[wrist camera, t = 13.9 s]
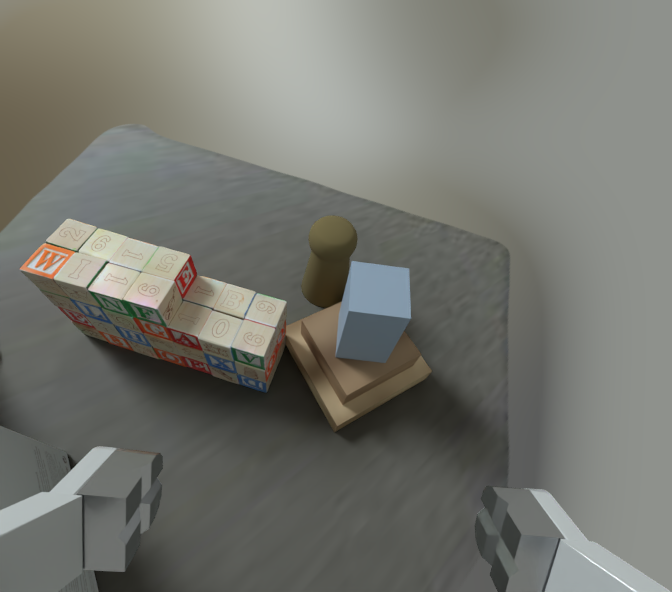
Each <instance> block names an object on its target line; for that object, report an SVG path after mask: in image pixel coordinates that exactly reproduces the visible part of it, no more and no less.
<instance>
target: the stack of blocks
mask: <svg viewBox="0 0 672 592" xmlns="http://www.w3.org/2000/svg"><path fill="white" fill-rule="evenodd" d="M20 271H21V272H22V273H23V274H24V275H25V276H26V277H27V278H29V279H30V280H31V281H32V282H33V283H34V284H35V285H36V286H37V287H38V288H39V289H40V291H41V292H42V293H43V294H44V295H45V296H46V297H47V298H48V299H49V300H50V301H51V302H52V303H53V304H54V305H55V306H58V308H59V309H60V310H61V311H62V312H63V313H64V314H65V315H66V316H67V317H68V318H69V319H71V320H72V323H73V324H74V325H75V326H76V327H77V328H78V329H79V330H81V331H82V332H83V333H84V334H85V335H88V336H91V337H95V338H98V339H101V340H104V341H107V342H109V343H110V344H113V345H116V346H119V347H123V348H126V349H129V350H132V351H135V352H138V353H141V354H143V355H147V356H150V357H153V358H156V359H163V360H165V361H169V362H172V363H175V364H178V365H181V366H184V367H189V368H193V369H195V370H199V371H202V372H205V373H208V374H211V375H213V376H214V377H217V378H220V379H223V380H226V381H229V382H232V383H235V384H241V385H243V386H246V387H249V388H252V389H255V390H258V391H262V392H265V393H267V391H268V388H269V386H270V383H271V381H272V378H273V376H274V373H275V371H276V368H277V366H278V364H279V361H280V359H281V356H282V354H283V351H284V348H285V345H286V316H287V315H286V314H287V302H286V301H284V300H280V299H277V298H273V297H270V296H267V295H263V294H257V293H256V292H254V291H251V290H248V289H245V288H241V287H238V286H234V285H231V284H226V283H224V282H221V281H218V280H214V279H211V278H207V277H203V276H197V272H196V269H195V267H194V264H193V261H192V258H191V256H190V255H188V254H185V253H182V252H178V251H174V250H171V249H168V248H164V247H158V246H155V245H152V244H149V243H145V242H141V241H138V240H135V239H131V238H128V237H126V236H123V235H120V234H116V233H113V232H110V231H106V230H103V229H98V228H97V227H95V226H91V225H88V224H85V223H82V222H78V221H75V220H72V219H67V220H66V221H65V222H64V223H63V224H62V225H61V226H60V227H59V228H58V229H57V230H56V231H55V232H54V233H53V234H52V235H51V236H50V237H49V238H48V239H47V240H46V243H44V244H43V245H42V246H40V247H39V248H38V250H37V251H36V252H35V253H34V254H33V255H32V256H31V257H30V258H29V259H28V260H27V261H26V262H25V263H24V265H23V266H22V267H21V268H20Z"/></svg>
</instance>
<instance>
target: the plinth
mask: <svg viewBox="0 0 672 592" xmlns="http://www.w3.org/2000/svg"><path fill="white" fill-rule="evenodd" d="M341 303H342V302H340V303H337V304H335V305H333V306H331V307H328V308H326V309H324V310H321V311H319V312H317V313H315V314H312V315H310V316H308V317H306V318H303V319H301V320H299V321H297V322H294V323H292V324H290V325H288V326H286V346H287V348H288V350H289V351H290V353H291V355H292V357H293V359H294V360H295V362H296V364H297V366H298V368H299V370H300V371H301V373H302V375H303V377H304V379H305V380H306V382H307V384H308V386H309V388H310V389H311V391H312V393H313V395H314V397H315V398H316V400H317V402H318V404H319V406H320V407H321V409H322V411H323V413H324V415H325V416H326V418H327V420H328V422H329V424H330V425H331V427H332V429H333V431H334V432H336V431H337V430H339V429H341V428H343V427H344V426H346V425H348V424H349V423H351V422H353V421H355V420H356V419H358V418H360V417H361V416H363V415H365V414H367V413H368V412H370V411H372V410H373V409H375V408H377V407H379V406H380V405H382V404H384V403H385V402H387V401H389V400H391V399H392V398H394V397H396V396H397V395H399V394H401V393H403V392H404V391H406V390H408V389H409V388H411V387H413V386H415V385H416V384H418V383H420V382H421V381H423V380H425V379H426V378H427V376H428V375H429V374H430V373H431V372H432V370H431V369H430V368H429V366H428V365H427V363H426V362H425V361H424V359H423V358H422V357H421V353H420V352H419V350H418V349H417V347H416V346H415V345H414V343H413V342H412V341H411V339H410V338H409V336H408V335H407V334H406V332H405V331H404V332H403V333H402V335H401V337H400V339H399V340H398V342H397V344H396V346H395V347H394V349H393V351H392V352H391V354H390V356H389V358H388V359H387V361H386V363H380V362H372V361H363V360H355V359H346V358H338V357H335V356H336V343H337V331H338V319H339V311H340V307H341Z"/></svg>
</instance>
